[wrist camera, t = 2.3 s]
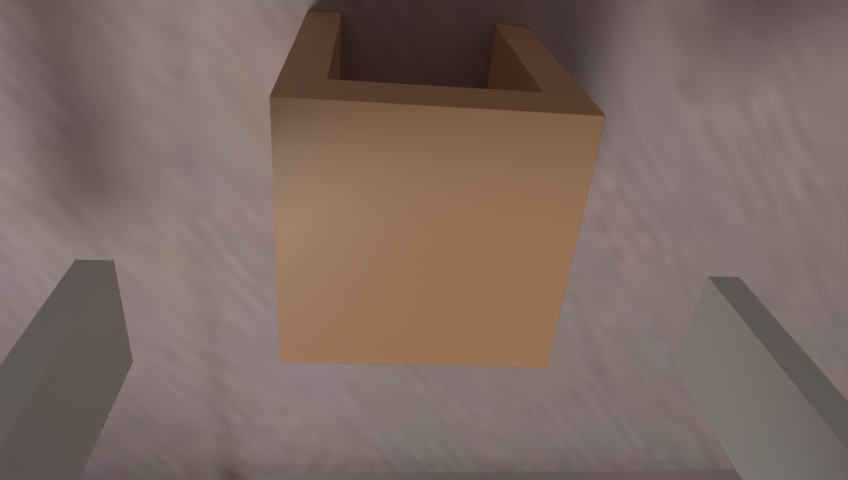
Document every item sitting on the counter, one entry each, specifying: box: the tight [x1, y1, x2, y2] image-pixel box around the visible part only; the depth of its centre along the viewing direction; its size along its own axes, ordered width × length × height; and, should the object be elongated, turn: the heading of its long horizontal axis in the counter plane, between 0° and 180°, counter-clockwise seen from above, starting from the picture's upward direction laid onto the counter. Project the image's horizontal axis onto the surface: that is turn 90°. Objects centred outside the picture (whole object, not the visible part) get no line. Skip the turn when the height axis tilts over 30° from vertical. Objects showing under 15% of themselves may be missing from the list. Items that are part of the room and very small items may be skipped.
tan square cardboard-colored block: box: [270, 11, 606, 368], centre depth 22 cm, size 8×8×10 cm
